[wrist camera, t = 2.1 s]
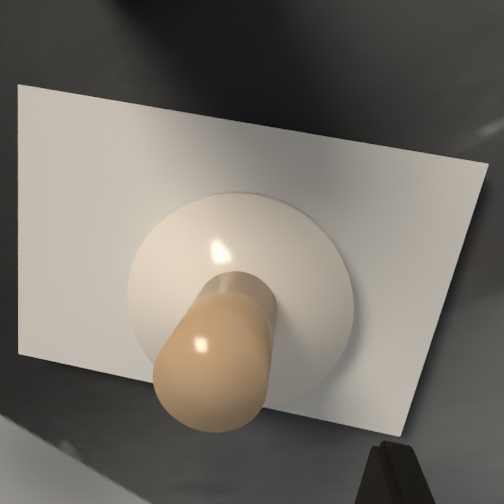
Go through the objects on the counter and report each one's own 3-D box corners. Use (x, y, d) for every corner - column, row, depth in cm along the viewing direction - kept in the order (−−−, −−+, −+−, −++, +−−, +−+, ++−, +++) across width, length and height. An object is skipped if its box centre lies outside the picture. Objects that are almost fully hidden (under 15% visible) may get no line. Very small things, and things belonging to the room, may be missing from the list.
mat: (474, 162, 16) (488, 164, 14) (394, 418, 19) (400, 436, 18) (37, 88, 17) (17, 84, 16) (34, 341, 20) (18, 353, 19)
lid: (374, 213, 15) (420, 259, 9) (324, 410, 18) (335, 543, 12) (148, 173, 16) (57, 191, 10) (130, 368, 18) (49, 476, 13)
